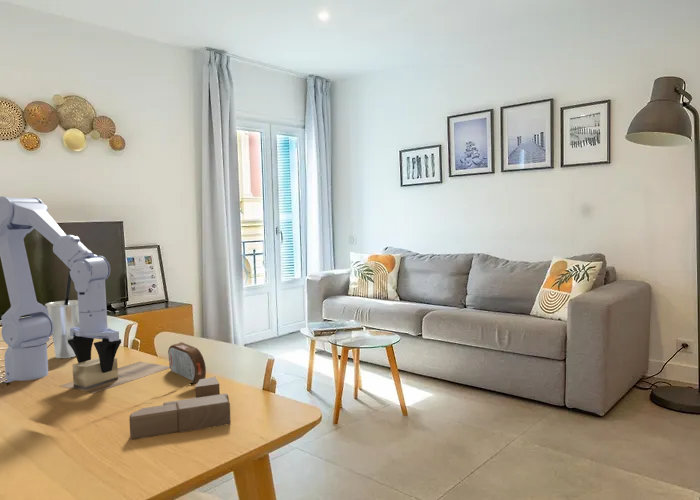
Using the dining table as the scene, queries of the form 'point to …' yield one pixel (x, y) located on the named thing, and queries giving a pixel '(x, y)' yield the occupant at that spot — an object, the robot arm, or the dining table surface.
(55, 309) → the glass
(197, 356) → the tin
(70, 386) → the plank
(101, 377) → the block
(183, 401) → the wooden block set
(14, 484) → the dining table surface
